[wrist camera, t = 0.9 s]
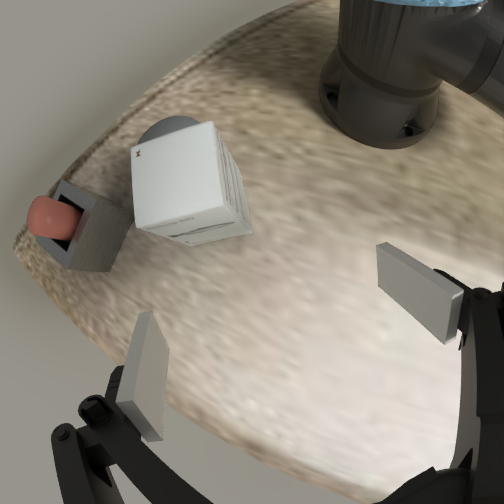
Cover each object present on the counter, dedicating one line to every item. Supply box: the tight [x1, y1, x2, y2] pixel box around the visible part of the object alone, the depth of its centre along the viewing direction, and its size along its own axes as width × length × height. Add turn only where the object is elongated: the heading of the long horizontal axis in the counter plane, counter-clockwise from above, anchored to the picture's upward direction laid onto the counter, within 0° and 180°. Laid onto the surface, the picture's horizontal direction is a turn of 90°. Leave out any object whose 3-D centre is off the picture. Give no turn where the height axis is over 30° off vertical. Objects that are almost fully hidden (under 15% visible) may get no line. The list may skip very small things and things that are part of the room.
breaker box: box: [36, 179, 135, 272], centre depth 32 cm, size 8×7×8 cm
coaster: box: [139, 116, 200, 144], centre depth 35 cm, size 10×10×1 cm
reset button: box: [27, 196, 84, 242], centre depth 27 cm, size 4×4×7 cm
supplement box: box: [130, 121, 253, 247], centre depth 27 cm, size 7×7×13 cm
